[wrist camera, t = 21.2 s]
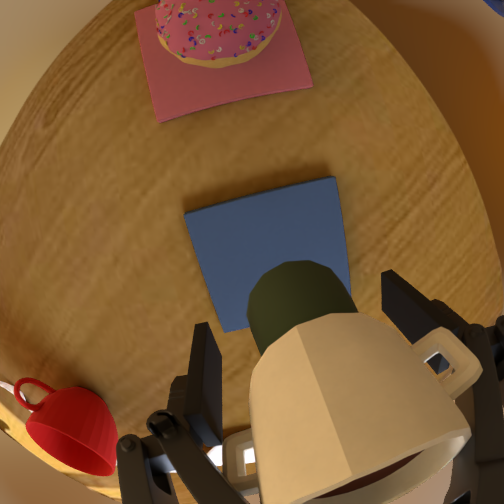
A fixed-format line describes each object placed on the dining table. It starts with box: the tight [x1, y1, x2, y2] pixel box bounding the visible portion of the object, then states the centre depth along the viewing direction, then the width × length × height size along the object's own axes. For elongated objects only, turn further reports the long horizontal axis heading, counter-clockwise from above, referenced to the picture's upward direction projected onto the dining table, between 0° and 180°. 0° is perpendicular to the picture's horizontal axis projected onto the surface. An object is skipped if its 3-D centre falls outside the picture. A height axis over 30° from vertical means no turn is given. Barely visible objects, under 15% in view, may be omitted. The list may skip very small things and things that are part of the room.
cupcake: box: [155, 0, 282, 68], centre depth 11 cm, size 9×8×12 cm
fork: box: [0, 381, 33, 412], centre depth 31 cm, size 3×20×2 cm, turn 36°
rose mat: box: [134, 0, 313, 123], centre depth 17 cm, size 13×12×1 cm
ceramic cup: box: [14, 378, 118, 476], centre depth 25 cm, size 13×17×10 cm
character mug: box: [222, 260, 483, 504], centre depth 11 cm, size 11×7×13 cm, turn 120°
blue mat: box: [184, 176, 351, 333], centre depth 24 cm, size 13×12×1 cm
